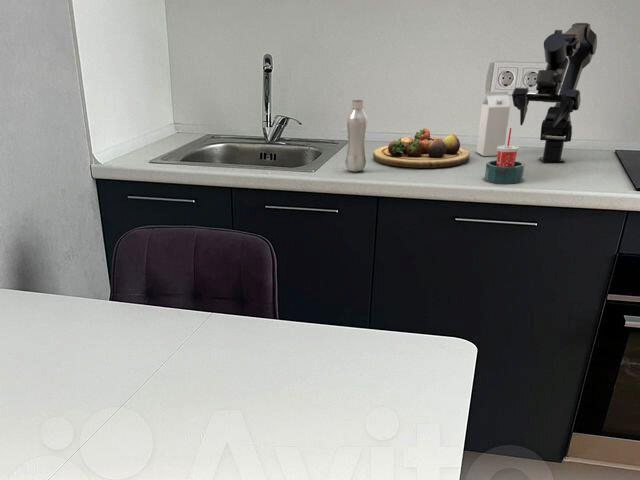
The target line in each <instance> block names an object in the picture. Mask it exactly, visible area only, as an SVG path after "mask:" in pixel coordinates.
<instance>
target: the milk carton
mask: <svg viewBox="0 0 640 480" xmlns="http://www.w3.org/2000/svg"><path fill="white" fill-rule="evenodd" d="M510 109H511V104H510V98H509V91H506V90H504V91H487V92H486V96H485V97H484V100H483V102H482V104H481V111H480V120H479V127H478V137H477V138H478V139H477V145H476V153H477V154H479V155H481V156H482V157H490V156H491V157H492V156H493V157H495V156H497V153H498V151H497V147H498V146H502V145H505V143H506V137H507V130H508V124H509V122H508V121H509V117H510Z"/></svg>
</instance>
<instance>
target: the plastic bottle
mask: <svg viewBox="0 0 640 480" xmlns="http://www.w3.org/2000/svg"><path fill="white" fill-rule="evenodd" d="M350 108H351V110H350V112H349V113H348V115H347V118H346V130H347V147H346V149H347V150H346V156H345V169H346V170H347V171H350V172H355V173H356V172H360V171H364V169H365V168H366V165H367V159H366V147H365V143H366V142H365V141H366V134H367V133H366V131H367V127H368V126H367V125H368V117H367V114H366V113H365V111H364V109H363V108H365V106H364V100H363V99H354V100H351V107H350Z"/></svg>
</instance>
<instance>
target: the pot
mask: <svg viewBox="0 0 640 480" xmlns="http://www.w3.org/2000/svg"><path fill="white" fill-rule="evenodd" d="M496 165H497V159H495V160H490V161H487V163H486V166H485V173H484V180H485V181H486V182H488V183H492V184H500V185H501V184H503V185H508V184H509V185H510V184H511V185H512V184H518V183H521V182H522V181H523V178H524V177H523V176H524V171H525V165H526V163H524V162H523V161H518V160H515V164H514V167H499V166H496Z"/></svg>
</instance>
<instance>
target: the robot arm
mask: <svg viewBox="0 0 640 480" xmlns="http://www.w3.org/2000/svg"><path fill="white" fill-rule="evenodd" d="M597 36H598V35H597V34H596V33H595V32H594V30H592V29H591V24H590V23H588V22H575V23H573V24H572V25H571V27H570V28H569V29H567V30H566V31H565V32H563V29H555V30H554V32H553V33H552V34H549V35H548V36H547V37H546V38H545V39H544V41H543V51H544V53H543V54H544V61H545V63H546V66H545V69H539V70H538V72H537V75H536V80H535V84H536V87H535V90H536V91H537V92H530V90H529V87H520V86H519V87H517V86H516V87H514V89H513V90H512V93H511V99H512V103H513V107H515V108H516V109H517V110H519V124H520V126H523V124H524V122H525V119H526V116H527V113H528V106H529V103H530V102H543V103H554V104H555V105H554V106H550V107H549V108H548V109H547V112H546V115H545V118H544V119H543V120H542V122H541V125H540V126H541V128H540V138H539V140H540V141H545V142H544V148H543V154H542V156H540V157H539V160H540V161H541V162H543V163H565V160H564V159H563V158H562V156H563V151H564V145H565V143H568V142H569V143H570V142H571V141H572V137H573V126H572V120H571V113H573V112H574V111H579V108H580V106H581V91H580V89H577V87H578V84H579V81H580V78H581V75H582V73H583V70H584V69H585V68H586V67H587V66H588V65H589V64H591V60H592V58H593V56H594V55H595V54H596V51H597V47H598V37H597Z"/></svg>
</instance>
